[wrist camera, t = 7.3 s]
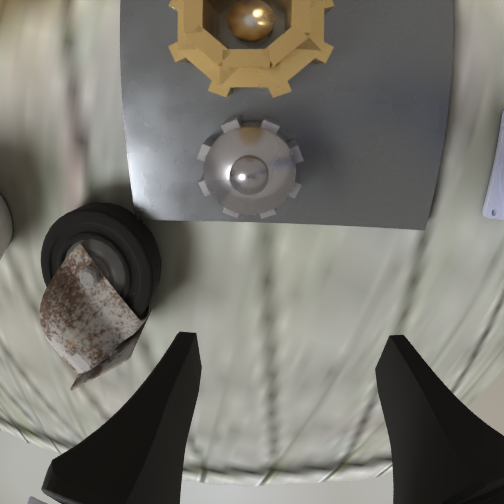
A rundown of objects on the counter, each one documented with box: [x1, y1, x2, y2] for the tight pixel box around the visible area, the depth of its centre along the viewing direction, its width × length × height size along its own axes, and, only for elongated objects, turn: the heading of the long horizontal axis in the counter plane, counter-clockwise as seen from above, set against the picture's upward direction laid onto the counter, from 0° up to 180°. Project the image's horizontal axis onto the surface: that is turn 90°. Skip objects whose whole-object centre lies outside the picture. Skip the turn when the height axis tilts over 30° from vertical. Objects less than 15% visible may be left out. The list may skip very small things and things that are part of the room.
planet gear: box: [168, 0, 334, 98], centre depth 11 cm, size 7×7×4 cm
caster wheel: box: [40, 203, 161, 390], centre depth 20 cm, size 7×11×10 cm
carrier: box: [120, 0, 454, 230], centre depth 13 cm, size 18×17×4 cm
